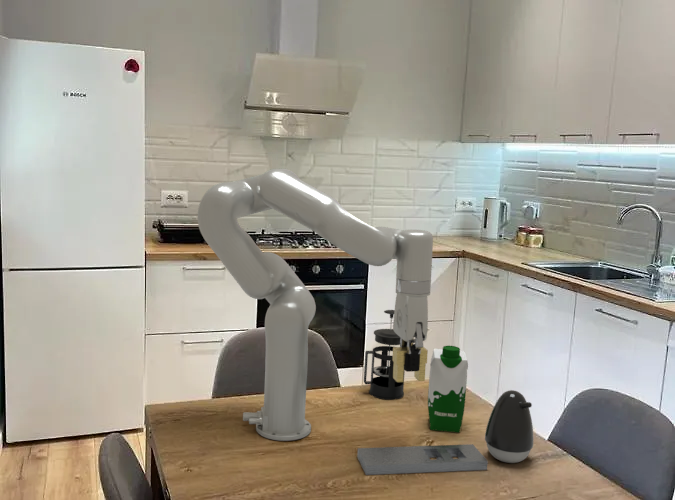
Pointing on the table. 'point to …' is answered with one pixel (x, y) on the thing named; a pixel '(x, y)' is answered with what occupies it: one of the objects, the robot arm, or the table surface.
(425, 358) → the tan wooden block
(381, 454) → the grey flat board
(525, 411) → the pump dispenser
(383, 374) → the french press
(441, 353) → the milk carton
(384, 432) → the table surface
